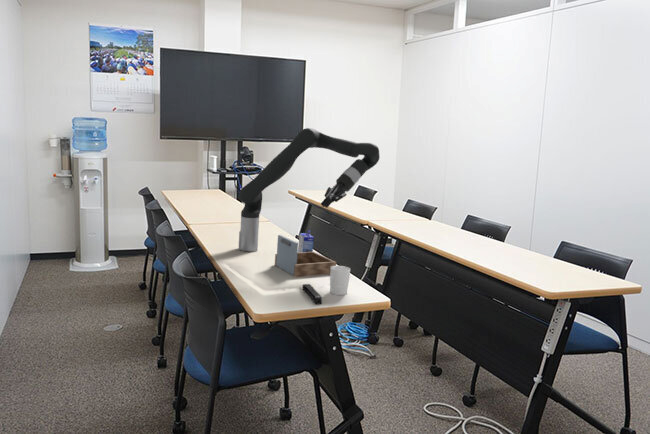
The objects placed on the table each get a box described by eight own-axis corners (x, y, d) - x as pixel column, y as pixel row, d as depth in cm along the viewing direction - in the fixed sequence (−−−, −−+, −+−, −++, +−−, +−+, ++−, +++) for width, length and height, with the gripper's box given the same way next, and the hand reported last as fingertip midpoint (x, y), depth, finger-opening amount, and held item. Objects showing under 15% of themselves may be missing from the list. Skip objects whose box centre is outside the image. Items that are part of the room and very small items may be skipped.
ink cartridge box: (312, 261, 254) (314, 232, 251) (301, 261, 252) (303, 232, 250) (307, 256, 263) (309, 228, 261) (297, 256, 261) (299, 228, 259)
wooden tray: (312, 265, 247) (313, 251, 246) (335, 276, 230) (336, 262, 229) (274, 268, 237) (275, 254, 236) (295, 280, 220) (295, 265, 219)
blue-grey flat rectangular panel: (278, 265, 236) (280, 234, 234) (296, 275, 222) (298, 243, 220) (274, 265, 235) (276, 235, 233) (291, 275, 221) (293, 243, 219)
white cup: (347, 290, 211) (349, 266, 210) (349, 296, 204) (351, 271, 202) (328, 289, 211) (330, 265, 210) (328, 295, 203) (330, 270, 202)
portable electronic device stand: (302, 290, 208) (302, 283, 207) (308, 290, 209) (308, 283, 208) (315, 305, 191) (315, 297, 191) (322, 305, 192) (322, 297, 192)
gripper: (336, 171, 241) (311, 197, 237) (352, 174, 230) (326, 202, 225) (344, 183, 245) (320, 209, 240) (361, 186, 233) (336, 214, 229)
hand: (323, 205), depth 233 cm, fingers closed
